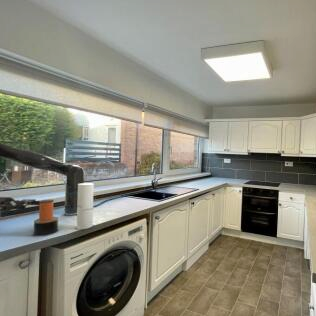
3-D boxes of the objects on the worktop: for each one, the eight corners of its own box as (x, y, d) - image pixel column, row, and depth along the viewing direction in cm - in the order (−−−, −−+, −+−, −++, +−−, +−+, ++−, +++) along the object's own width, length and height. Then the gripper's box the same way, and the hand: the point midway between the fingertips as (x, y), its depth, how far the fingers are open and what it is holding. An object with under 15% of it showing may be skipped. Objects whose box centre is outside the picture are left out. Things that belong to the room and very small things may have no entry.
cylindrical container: (82, 224, 116) (83, 182, 116) (95, 224, 117) (96, 183, 116) (73, 229, 109) (74, 184, 109) (86, 229, 110) (88, 185, 109)
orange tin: (50, 217, 107) (50, 199, 106) (55, 218, 104) (55, 200, 104) (36, 219, 102) (37, 200, 102) (41, 221, 100) (42, 202, 99)
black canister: (52, 227, 109) (52, 215, 109) (61, 231, 106) (61, 218, 106) (29, 233, 101) (30, 220, 101) (38, 237, 97) (39, 223, 97)
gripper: (-19, 200, 93) (19, 201, 95) (12, 194, 108) (45, 195, 109) (-19, 215, 94) (19, 216, 95) (12, 207, 108) (44, 208, 109)
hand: (32, 205), depth 102 cm, fingers open, 8 cm apart
